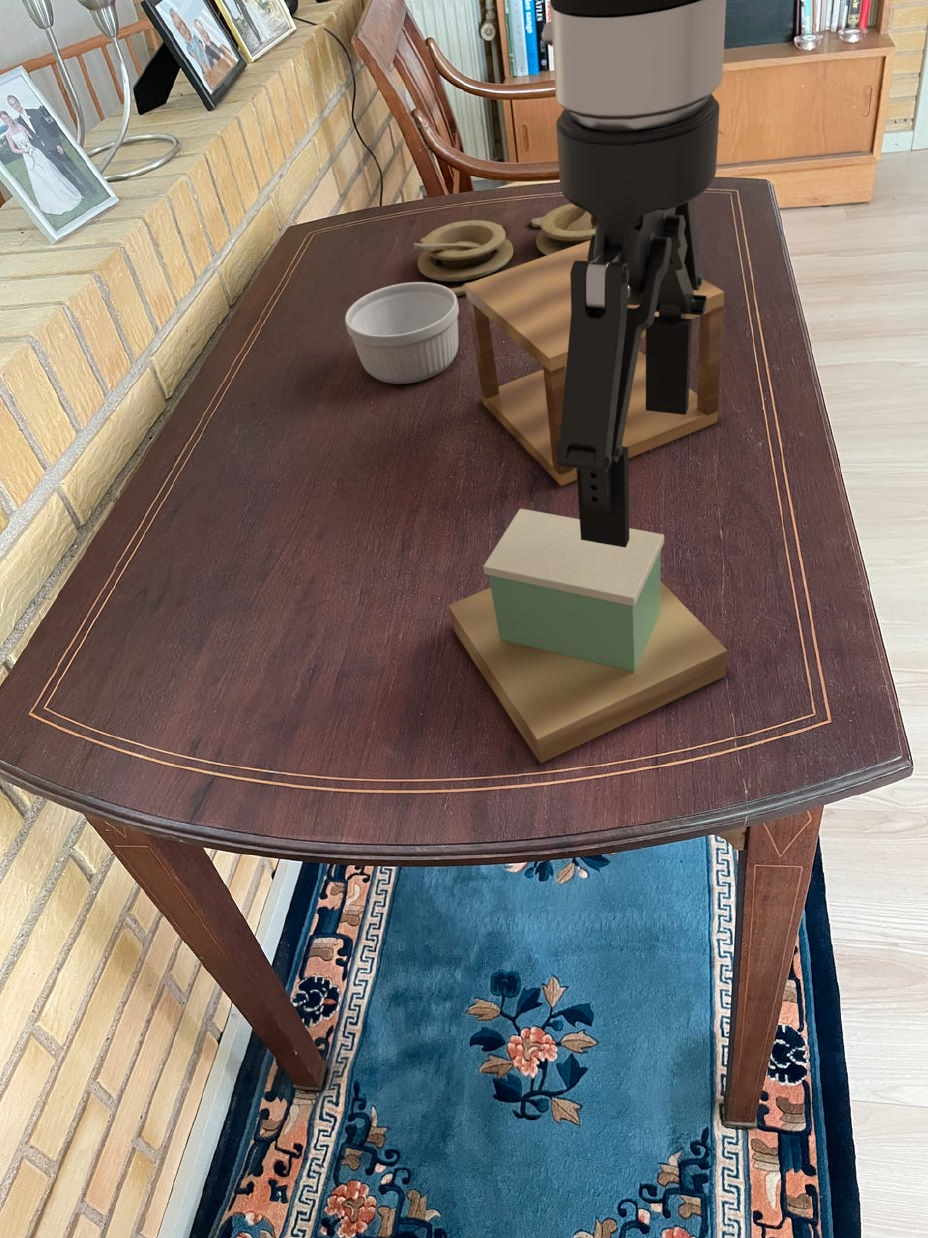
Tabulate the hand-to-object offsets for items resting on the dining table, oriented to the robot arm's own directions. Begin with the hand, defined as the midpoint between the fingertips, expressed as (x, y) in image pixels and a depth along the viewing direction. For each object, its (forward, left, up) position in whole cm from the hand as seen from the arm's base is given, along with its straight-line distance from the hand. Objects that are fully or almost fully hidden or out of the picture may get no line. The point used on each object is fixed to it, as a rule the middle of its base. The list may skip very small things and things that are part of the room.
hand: (638, 470), depth 58 cm
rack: (+34, -15, -20) cm, 42 cm away
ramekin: (+57, -3, -20) cm, 60 cm away
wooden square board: (+5, +3, -20) cm, 20 cm away
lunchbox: (+5, +3, -17) cm, 18 cm away
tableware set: (+74, -27, -20) cm, 81 cm away
